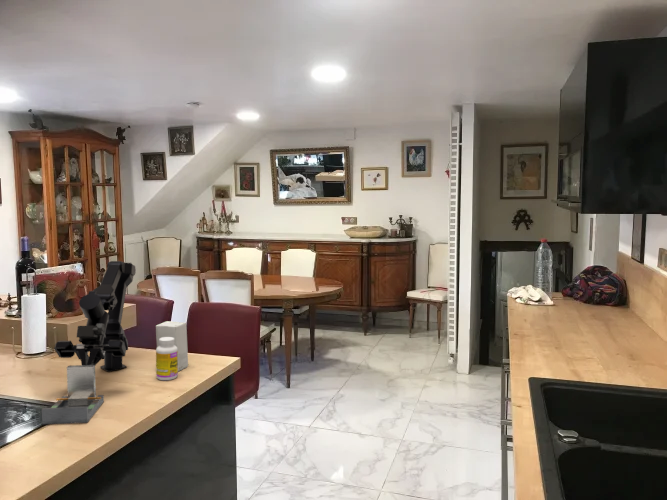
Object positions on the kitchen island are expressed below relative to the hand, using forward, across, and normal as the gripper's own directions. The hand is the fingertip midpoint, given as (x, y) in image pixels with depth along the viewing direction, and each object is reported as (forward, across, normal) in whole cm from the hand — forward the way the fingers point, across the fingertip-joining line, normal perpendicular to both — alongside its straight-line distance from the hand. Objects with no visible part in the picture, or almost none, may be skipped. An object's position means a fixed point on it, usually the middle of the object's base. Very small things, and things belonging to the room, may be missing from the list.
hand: (84, 375), depth 150 cm
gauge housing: (+12, 0, -2) cm, 12 cm away
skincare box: (-14, +20, +24) cm, 34 cm away
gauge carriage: (+7, 0, +2) cm, 8 cm away
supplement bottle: (-7, +20, +17) cm, 27 cm away
